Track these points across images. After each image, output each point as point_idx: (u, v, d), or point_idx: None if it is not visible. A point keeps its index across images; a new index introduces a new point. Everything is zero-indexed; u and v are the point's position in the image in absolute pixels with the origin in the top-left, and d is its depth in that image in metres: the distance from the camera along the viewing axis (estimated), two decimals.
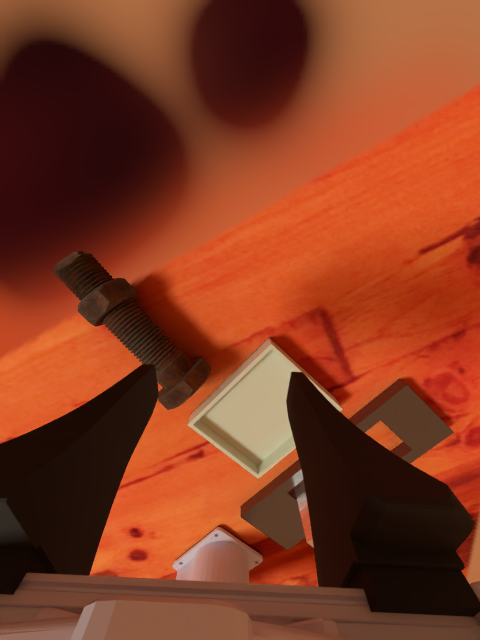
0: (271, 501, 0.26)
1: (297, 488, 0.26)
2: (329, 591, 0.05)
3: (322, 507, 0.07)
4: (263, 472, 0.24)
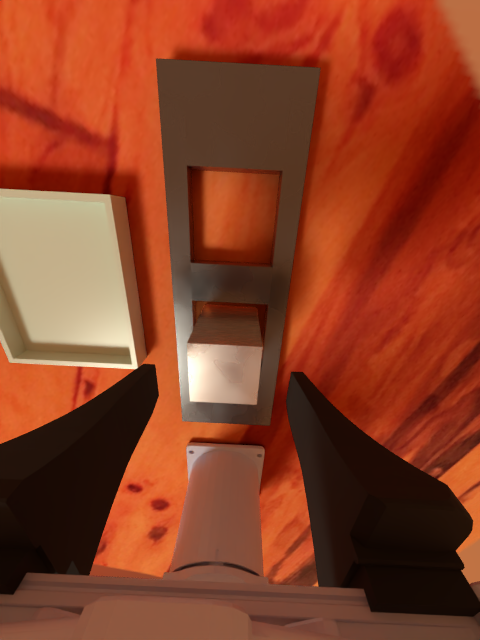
0: None
1: None
2: (329, 591, 0.05)
3: (322, 507, 0.07)
4: (133, 358, 0.17)
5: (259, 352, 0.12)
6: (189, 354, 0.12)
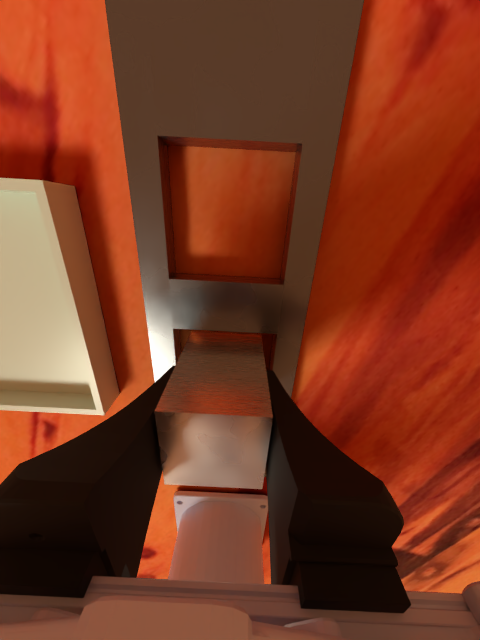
0: None
1: None
2: None
3: (275, 505, 0.07)
4: (97, 402, 0.13)
5: (268, 424, 0.08)
6: (159, 426, 0.08)
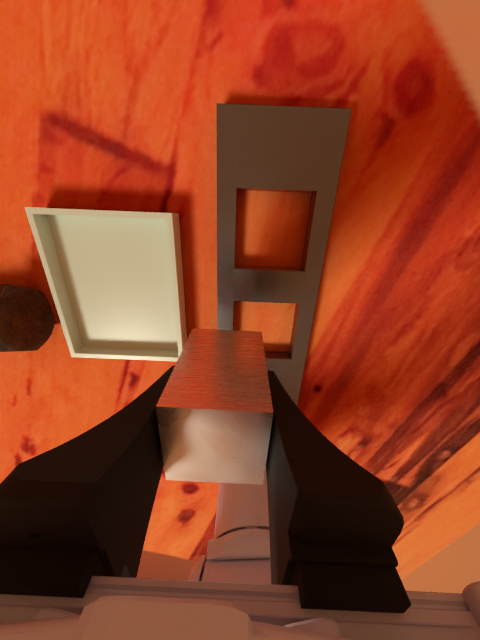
0: None
1: None
2: None
3: (275, 505, 0.07)
4: (180, 351, 0.20)
5: (268, 419, 0.08)
6: (161, 421, 0.08)
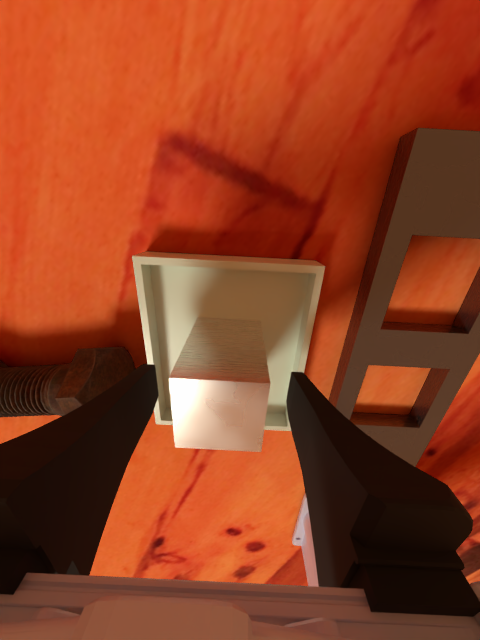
0: None
1: None
2: (329, 591, 0.05)
3: (322, 507, 0.07)
4: None
5: (266, 390, 0.09)
6: (172, 392, 0.09)
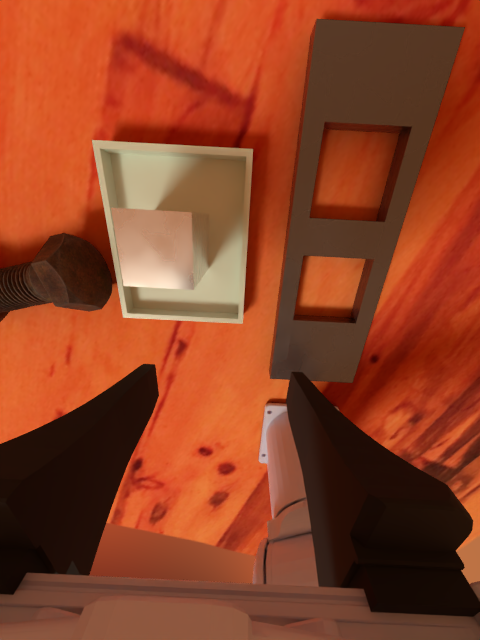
0: (285, 341, 0.20)
1: None
2: (329, 591, 0.05)
3: (322, 507, 0.07)
4: (241, 312, 0.19)
5: (189, 219, 0.11)
6: (115, 223, 0.12)
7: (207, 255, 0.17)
